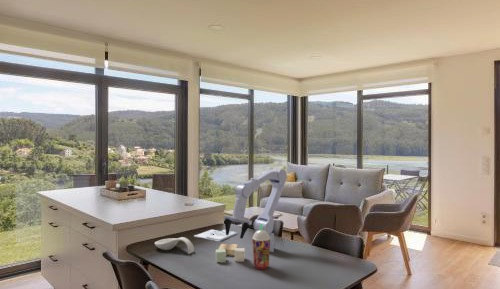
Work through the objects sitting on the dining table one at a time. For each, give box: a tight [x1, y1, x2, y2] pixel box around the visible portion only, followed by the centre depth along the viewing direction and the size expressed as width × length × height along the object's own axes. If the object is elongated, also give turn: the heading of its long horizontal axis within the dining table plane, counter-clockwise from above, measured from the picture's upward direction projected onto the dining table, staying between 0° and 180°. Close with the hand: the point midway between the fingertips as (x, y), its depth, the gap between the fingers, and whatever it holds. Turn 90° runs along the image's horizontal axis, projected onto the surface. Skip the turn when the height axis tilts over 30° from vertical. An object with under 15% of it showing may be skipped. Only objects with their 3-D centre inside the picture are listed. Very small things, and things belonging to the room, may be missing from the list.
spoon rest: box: [154, 236, 195, 255], centre depth 183 cm, size 24×12×7 cm, turn 61°
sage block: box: [215, 248, 227, 263], centre depth 166 cm, size 4×4×5 cm
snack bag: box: [193, 229, 238, 243], centre depth 210 cm, size 19×20×2 cm
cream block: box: [234, 247, 246, 262], centre depth 167 cm, size 4×4×5 cm
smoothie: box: [251, 224, 271, 270], centre depth 157 cm, size 8×8×20 cm
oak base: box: [218, 243, 239, 257], centre depth 178 cm, size 9×9×3 cm
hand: (234, 236), depth 169 cm, fingers open, 7 cm apart
